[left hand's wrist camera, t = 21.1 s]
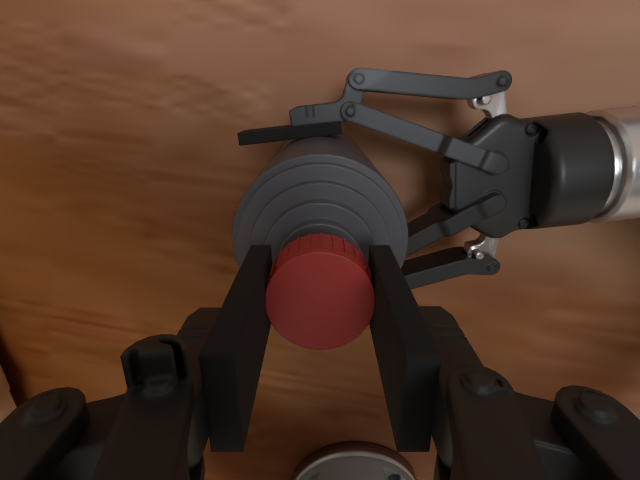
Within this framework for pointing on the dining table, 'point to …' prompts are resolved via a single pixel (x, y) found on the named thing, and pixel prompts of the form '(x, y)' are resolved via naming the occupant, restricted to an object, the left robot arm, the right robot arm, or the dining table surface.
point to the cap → (320, 292)
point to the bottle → (320, 200)
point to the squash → (5, 397)
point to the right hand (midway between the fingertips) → (254, 203)
